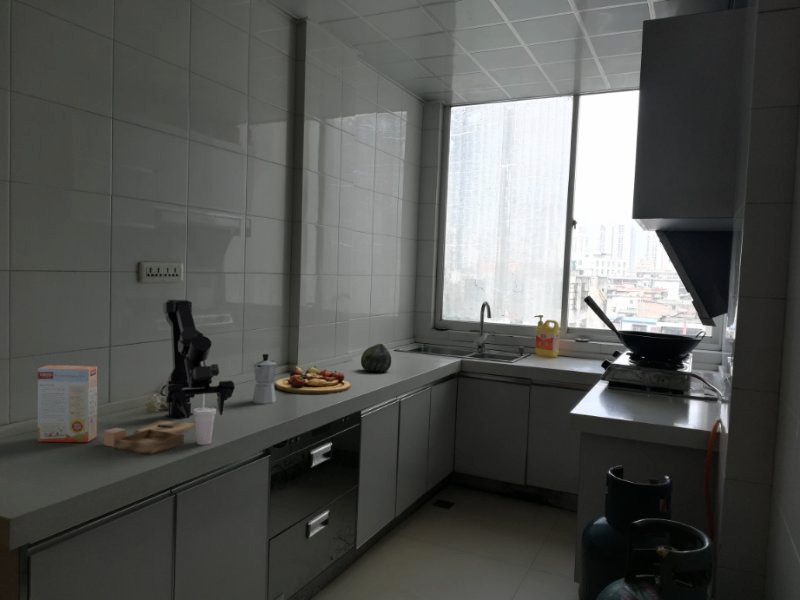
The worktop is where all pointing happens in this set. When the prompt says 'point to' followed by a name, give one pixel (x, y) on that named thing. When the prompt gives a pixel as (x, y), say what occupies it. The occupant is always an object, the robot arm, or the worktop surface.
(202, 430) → the smoothie
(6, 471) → the worktop surface
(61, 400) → the cracker box
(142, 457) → the worktop surface
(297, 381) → the wooden plate with food
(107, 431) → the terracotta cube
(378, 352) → the squash
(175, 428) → the lid
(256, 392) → the coffee maker
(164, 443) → the wooden tray
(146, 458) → the worktop surface
